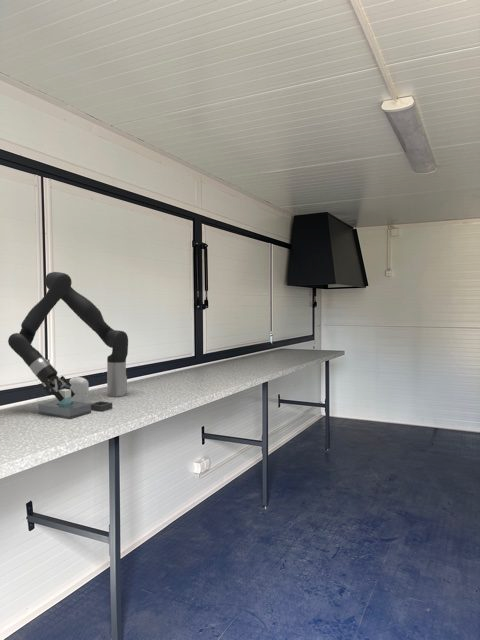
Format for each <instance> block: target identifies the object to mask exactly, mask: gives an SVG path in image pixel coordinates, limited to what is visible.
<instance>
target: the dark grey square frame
mask: <svg viewBox="0 0 480 640" xmlns="http://www.w3.org/2000/svg"><path fill="white" fill-rule="evenodd" d="M112 409H113V402H109V401H102V400H100V401H95V402H91V411H94V412H95V411H96V412H105V411H108V410H112Z"/></svg>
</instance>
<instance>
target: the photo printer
mask: <svg viewBox="0 0 480 640" xmlns="http://www.w3.org/2000/svg"><path fill="white" fill-rule="evenodd" d="M68 382H69V383H70V384H71V387H70V389H71V390H72V391H73V392H74V393H75V395H74V396H73V397H71V401H77V402H84V403H89V390H90V389H89V387H90V386H89V385H90V384H89V380H88V379H86V378H85V377H81V376H73V377H71V378H70V379H69V380H68Z"/></svg>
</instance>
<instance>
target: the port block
mask: <svg viewBox="0 0 480 640" xmlns="http://www.w3.org/2000/svg"><path fill="white" fill-rule="evenodd" d="M91 404H92V402H88V403H84V402H77V401H71V404H70V405H67V406H62V405H59V400H58V399H55V400H52V401H48V402H43V403H38V405H37V406H38V407H37V409H38V412H37V413H38V415H44V416H51V417H56V418H61V419H62V418H63V419H68V420H72V419H74V418H77V417H81V416H85V415H88V414H91V413H92V410H91Z"/></svg>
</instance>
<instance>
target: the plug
mask: <svg viewBox="0 0 480 640" xmlns="http://www.w3.org/2000/svg"><path fill="white" fill-rule="evenodd" d="M58 392H59V393H60V394H61V395H62V396H63V397H64V399H63V400H62V401H59V405H62V406H67V405H70V404H71V390H69V389H58Z"/></svg>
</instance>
